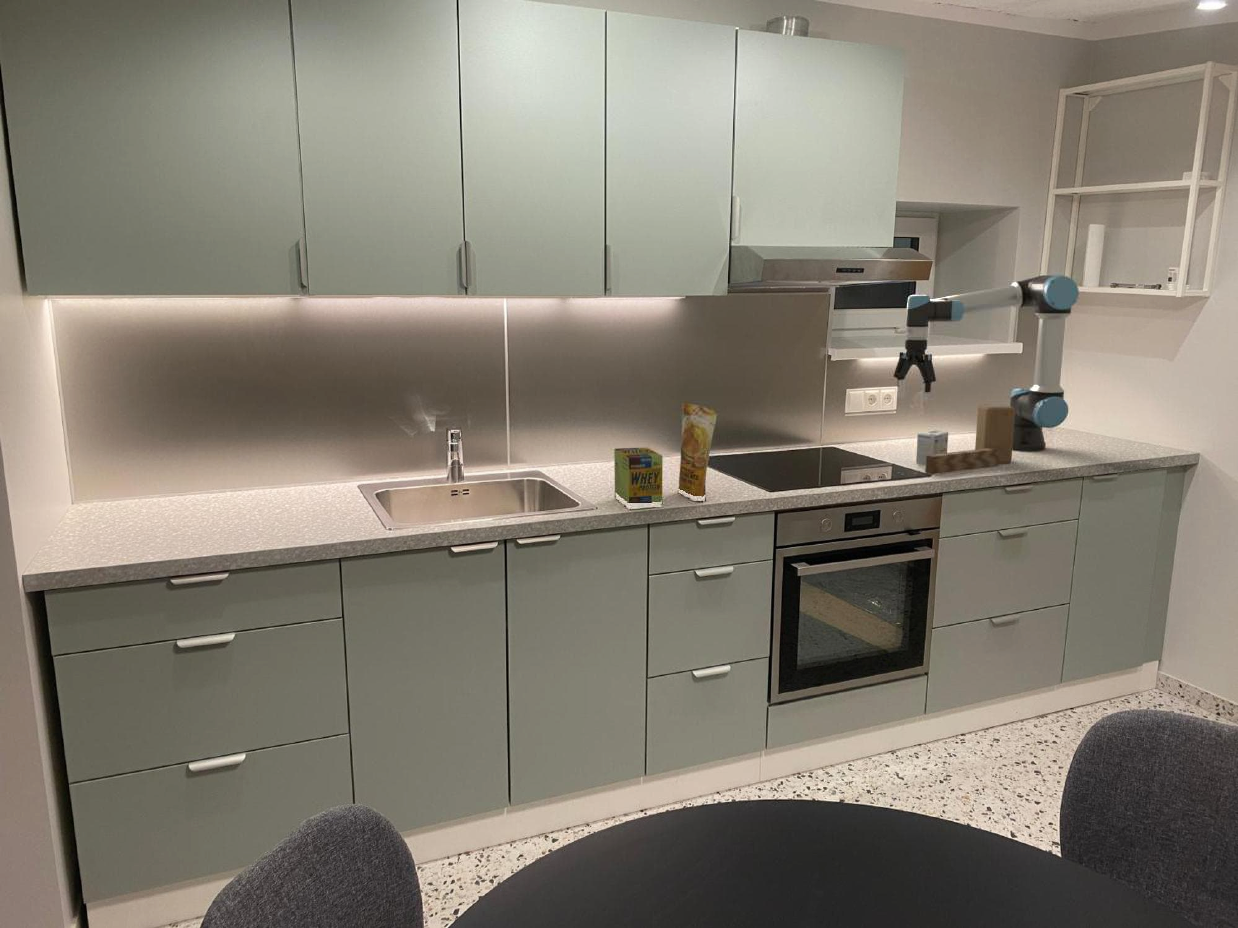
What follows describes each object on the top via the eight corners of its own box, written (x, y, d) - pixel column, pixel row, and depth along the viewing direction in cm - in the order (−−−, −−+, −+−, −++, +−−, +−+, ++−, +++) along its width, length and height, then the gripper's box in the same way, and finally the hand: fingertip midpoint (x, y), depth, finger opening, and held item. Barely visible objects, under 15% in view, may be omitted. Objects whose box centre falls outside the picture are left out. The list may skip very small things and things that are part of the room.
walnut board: (991, 464, 324) (992, 447, 323) (997, 466, 322) (999, 449, 320) (925, 472, 312) (926, 455, 311) (932, 474, 309) (933, 456, 308)
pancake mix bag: (690, 489, 291) (691, 400, 286) (718, 502, 274) (720, 408, 268) (671, 491, 289) (671, 402, 283) (698, 504, 271) (699, 410, 266)
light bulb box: (929, 458, 336) (931, 429, 333) (947, 461, 331) (949, 431, 329) (915, 463, 328) (916, 433, 326) (933, 465, 323) (934, 435, 321)
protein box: (628, 510, 265) (628, 457, 262) (614, 498, 280) (613, 448, 277) (663, 507, 268) (663, 455, 265) (647, 496, 283) (647, 446, 280)
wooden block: (1012, 464, 325) (1016, 407, 321) (983, 464, 325) (987, 407, 321) (1001, 458, 335) (1005, 403, 331) (973, 458, 335) (977, 403, 331)
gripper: (885, 337, 339) (882, 396, 344) (932, 341, 318) (929, 404, 323) (901, 336, 343) (898, 395, 347) (949, 340, 322) (945, 402, 326)
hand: (913, 399), depth 335 cm, fingers open, 11 cm apart
